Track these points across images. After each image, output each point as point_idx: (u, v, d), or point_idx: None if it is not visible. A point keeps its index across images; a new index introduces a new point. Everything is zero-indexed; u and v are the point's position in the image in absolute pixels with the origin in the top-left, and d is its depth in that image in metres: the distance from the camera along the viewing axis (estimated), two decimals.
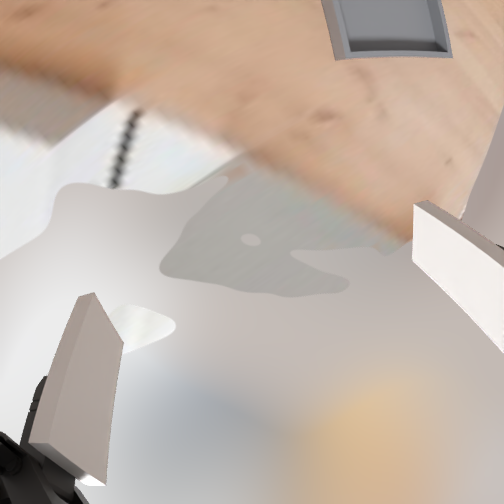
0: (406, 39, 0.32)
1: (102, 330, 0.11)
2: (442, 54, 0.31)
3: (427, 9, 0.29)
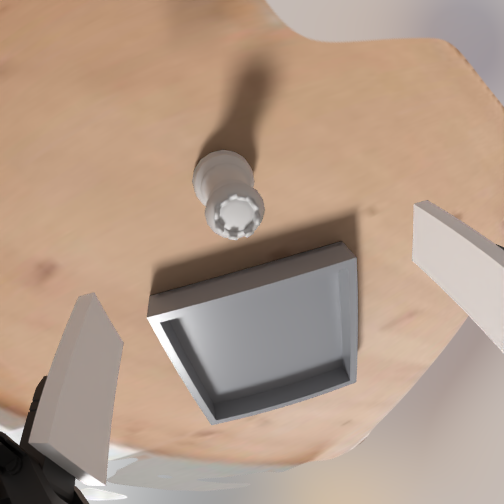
0: (297, 372, 0.35)
1: (102, 330, 0.11)
2: (340, 386, 0.34)
3: (339, 328, 0.32)
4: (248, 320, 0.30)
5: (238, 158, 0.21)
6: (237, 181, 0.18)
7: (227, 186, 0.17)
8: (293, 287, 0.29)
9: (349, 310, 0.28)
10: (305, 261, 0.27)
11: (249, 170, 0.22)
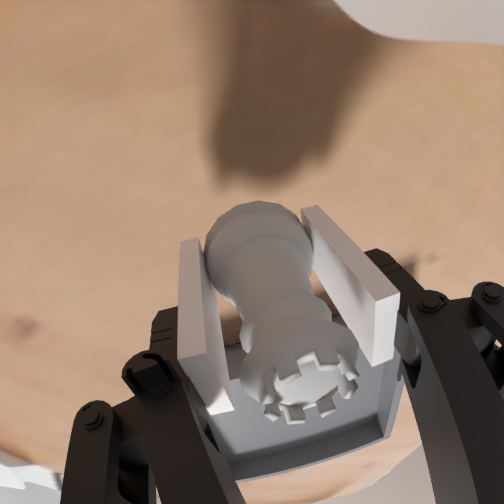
0: (326, 430, 0.28)
1: (207, 271, 0.13)
2: (372, 443, 0.27)
3: (378, 387, 0.26)
4: None
5: (289, 221, 0.12)
6: (303, 296, 0.09)
7: (293, 332, 0.07)
8: None
9: None
10: None
11: (307, 242, 0.12)
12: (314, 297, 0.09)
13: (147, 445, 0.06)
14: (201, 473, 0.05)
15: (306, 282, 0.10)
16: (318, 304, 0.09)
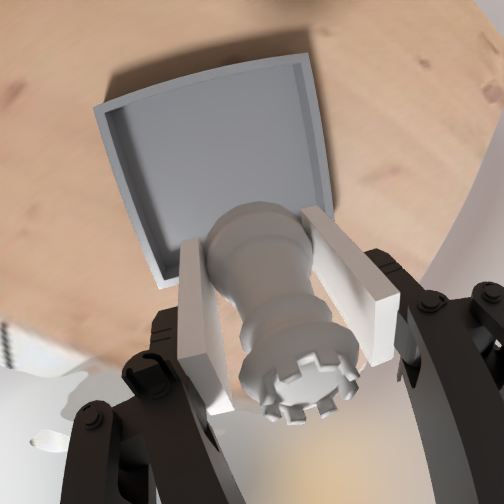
0: None
1: (207, 271, 0.13)
2: None
3: (307, 161, 0.29)
4: (200, 133, 0.26)
5: (289, 221, 0.12)
6: (304, 297, 0.09)
7: (293, 333, 0.07)
8: (248, 95, 0.25)
9: (311, 117, 0.25)
10: None
11: (307, 242, 0.12)
12: (314, 298, 0.09)
13: (147, 445, 0.06)
14: (201, 473, 0.05)
15: (306, 282, 0.10)
16: (318, 305, 0.09)
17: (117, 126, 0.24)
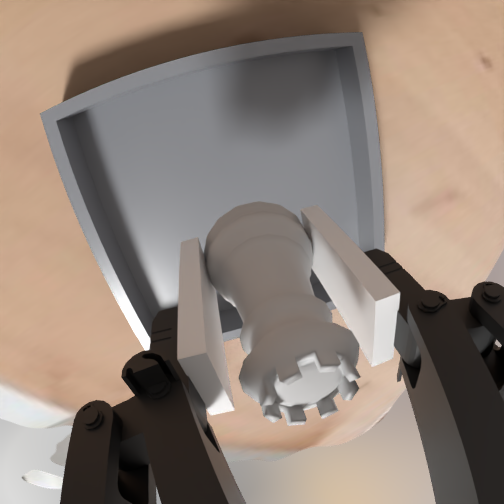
0: None
1: (207, 271, 0.13)
2: None
3: (351, 187, 0.20)
4: (201, 147, 0.18)
5: (289, 221, 0.12)
6: (304, 297, 0.09)
7: (293, 333, 0.07)
8: (272, 92, 0.17)
9: (365, 127, 0.16)
10: None
11: (307, 243, 0.12)
12: (314, 298, 0.09)
13: (147, 445, 0.06)
14: (201, 473, 0.05)
15: (306, 283, 0.10)
16: (318, 305, 0.09)
17: (80, 139, 0.16)
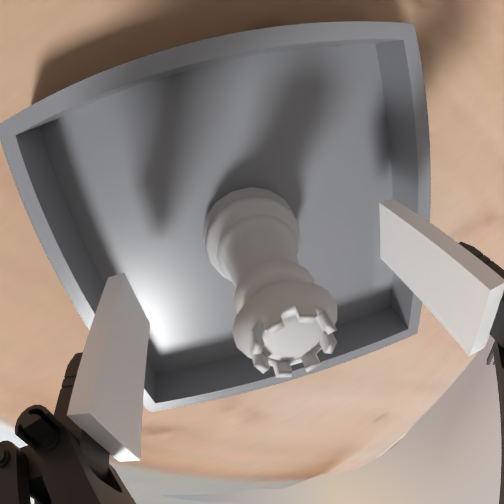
0: None
1: (132, 309, 0.12)
2: (390, 340, 0.18)
3: None
4: (206, 165, 0.14)
5: (277, 204, 0.13)
6: (288, 264, 0.10)
7: (276, 290, 0.09)
8: (299, 94, 0.13)
9: (416, 144, 0.12)
10: None
11: (294, 223, 0.14)
12: (297, 265, 0.10)
13: (50, 493, 0.04)
14: None
15: (292, 255, 0.11)
16: (301, 271, 0.10)
17: (51, 156, 0.12)
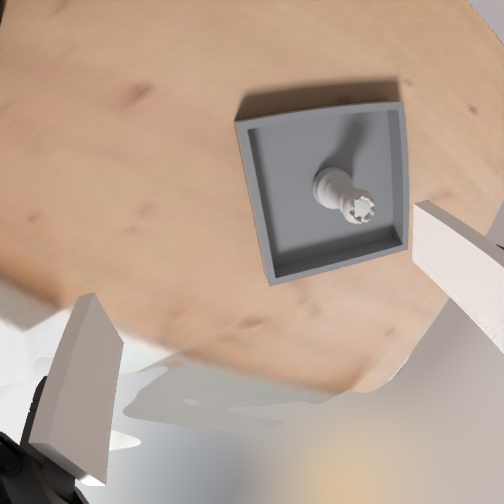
0: (353, 233, 0.37)
1: (102, 330, 0.11)
2: (393, 250, 0.36)
3: (390, 185, 0.35)
4: (316, 156, 0.32)
5: (346, 173, 0.32)
6: (356, 188, 0.28)
7: (357, 191, 0.27)
8: (354, 130, 0.31)
9: (401, 152, 0.31)
10: (364, 103, 0.29)
11: (352, 182, 0.32)
12: None
13: None
14: None
15: None
16: None
17: None
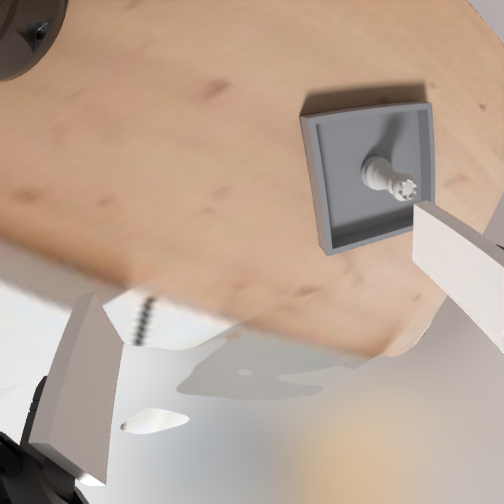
0: (391, 211, 0.42)
1: (102, 330, 0.11)
2: None
3: (419, 171, 0.40)
4: (364, 147, 0.37)
5: (388, 161, 0.37)
6: (401, 173, 0.34)
7: (403, 175, 0.32)
8: (392, 125, 0.36)
9: (429, 144, 0.36)
10: (401, 103, 0.34)
11: None
12: None
13: None
14: None
15: None
16: None
17: None
